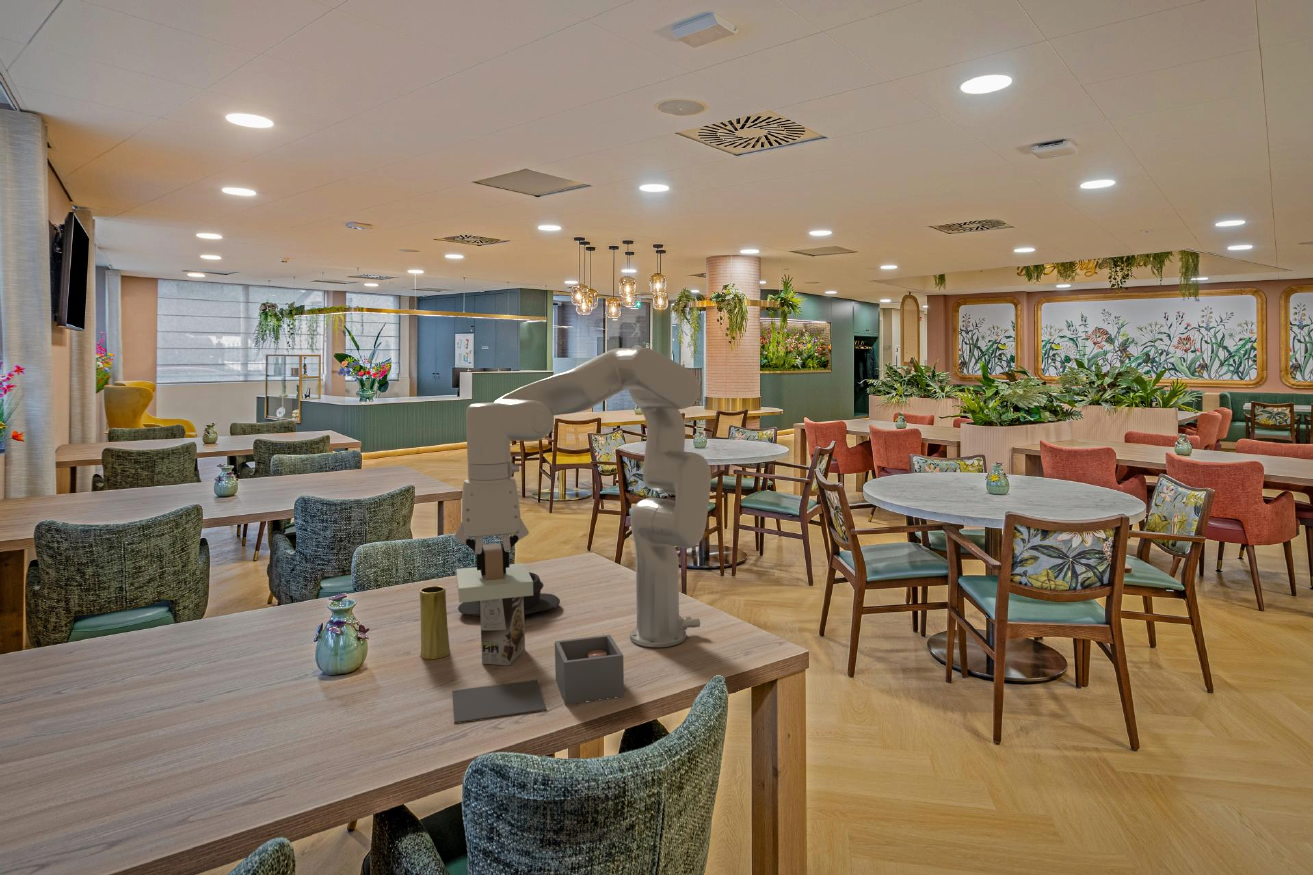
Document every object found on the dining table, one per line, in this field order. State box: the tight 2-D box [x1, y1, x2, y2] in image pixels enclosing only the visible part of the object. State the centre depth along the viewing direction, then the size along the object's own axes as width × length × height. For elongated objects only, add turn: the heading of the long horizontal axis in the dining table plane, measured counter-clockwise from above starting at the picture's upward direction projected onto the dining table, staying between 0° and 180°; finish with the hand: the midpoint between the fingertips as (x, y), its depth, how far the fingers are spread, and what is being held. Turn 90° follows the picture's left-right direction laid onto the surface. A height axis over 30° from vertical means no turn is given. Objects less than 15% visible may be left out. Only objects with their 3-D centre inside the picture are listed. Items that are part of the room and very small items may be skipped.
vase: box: [419, 585, 451, 660], centre depth 162 cm, size 6×6×14 cm
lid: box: [455, 543, 533, 604], centre depth 137 cm, size 13×13×8 cm
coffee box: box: [479, 596, 526, 666], centre depth 160 cm, size 9×6×16 cm
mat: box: [452, 679, 547, 724], centre depth 140 cm, size 16×13×1 cm
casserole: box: [457, 571, 561, 617], centre depth 189 cm, size 25×19×8 cm
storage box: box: [554, 634, 625, 706], centre depth 144 cm, size 11×11×8 cm
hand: (493, 571), depth 137 cm, fingers closed on lid, 3 cm apart
